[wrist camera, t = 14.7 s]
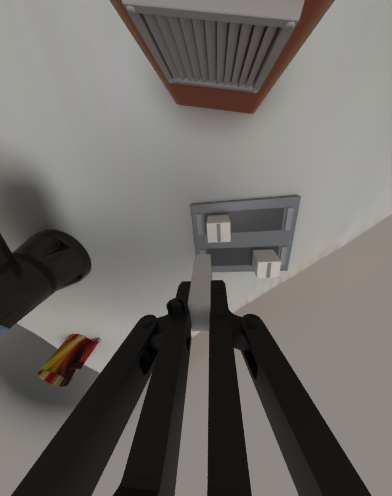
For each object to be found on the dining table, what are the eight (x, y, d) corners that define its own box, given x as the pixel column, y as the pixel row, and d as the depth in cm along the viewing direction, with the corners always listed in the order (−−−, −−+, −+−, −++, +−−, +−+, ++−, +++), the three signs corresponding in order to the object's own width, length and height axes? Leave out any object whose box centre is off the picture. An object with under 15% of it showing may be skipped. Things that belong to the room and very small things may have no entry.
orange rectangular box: (170, 49, 23) (275, 60, 23) (168, 110, 27) (259, 122, 26) (-30, -456, 4) (574, -473, 4) (48, -24, 8) (377, 6, 7)
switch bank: (198, 268, 40) (198, 273, 38) (191, 203, 33) (190, 205, 31) (284, 266, 37) (288, 271, 35) (297, 195, 30) (302, 196, 28)
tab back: (252, 264, 36) (257, 278, 31) (252, 249, 34) (258, 262, 30) (271, 263, 35) (279, 278, 31) (272, 249, 33) (281, 262, 29)
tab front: (209, 232, 33) (207, 243, 29) (207, 215, 32) (206, 223, 27) (228, 231, 33) (230, 242, 28) (228, 214, 31) (230, 222, 27)
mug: (101, 337, 59) (76, 375, 48) (88, 352, 65) (63, 389, 54) (76, 324, 57) (44, 361, 46) (65, 341, 63) (35, 377, 52)
